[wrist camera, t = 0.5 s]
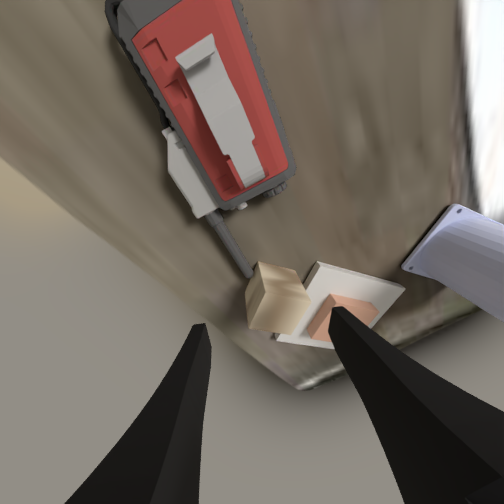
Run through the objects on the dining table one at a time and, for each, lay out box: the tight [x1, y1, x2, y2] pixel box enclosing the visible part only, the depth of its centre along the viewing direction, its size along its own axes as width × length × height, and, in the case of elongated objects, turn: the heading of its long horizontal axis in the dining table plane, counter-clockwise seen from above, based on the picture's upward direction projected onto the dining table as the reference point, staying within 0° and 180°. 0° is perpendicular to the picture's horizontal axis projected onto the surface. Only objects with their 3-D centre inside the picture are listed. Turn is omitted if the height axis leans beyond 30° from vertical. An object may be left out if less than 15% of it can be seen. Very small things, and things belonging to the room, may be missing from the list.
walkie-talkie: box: [105, 0, 296, 278], centre depth 14 cm, size 9×4×20 cm
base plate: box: [275, 261, 405, 349], centre depth 24 cm, size 12×12×2 cm
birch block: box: [245, 261, 311, 335], centre depth 19 cm, size 4×4×5 cm
